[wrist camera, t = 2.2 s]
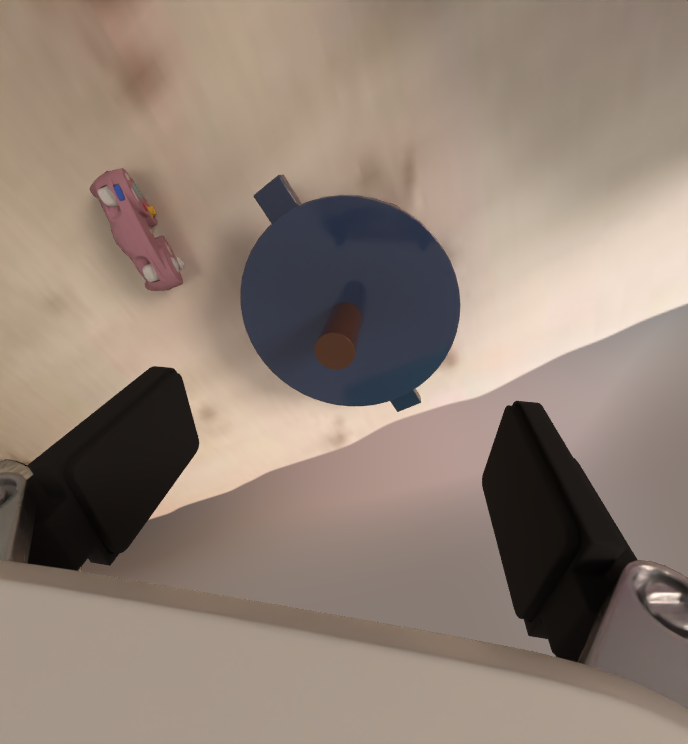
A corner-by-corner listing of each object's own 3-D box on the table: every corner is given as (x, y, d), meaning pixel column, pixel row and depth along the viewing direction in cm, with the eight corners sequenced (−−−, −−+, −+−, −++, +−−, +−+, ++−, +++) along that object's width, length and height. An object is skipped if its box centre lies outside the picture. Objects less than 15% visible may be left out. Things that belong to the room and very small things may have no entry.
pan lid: (321, 423, 33) (306, 475, 27) (203, 275, 27) (152, 304, 21) (492, 350, 27) (517, 399, 21) (390, 135, 20) (387, 122, 15)
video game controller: (196, 276, 35) (190, 287, 29) (152, 291, 34) (136, 306, 28) (143, 169, 30) (122, 155, 24) (91, 184, 30) (56, 174, 23)
